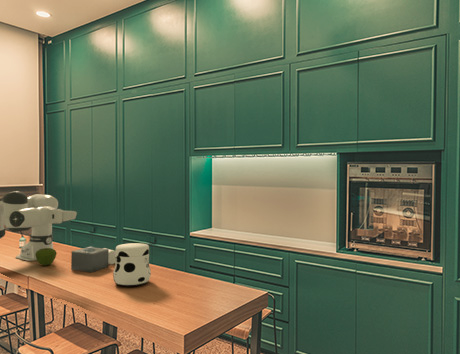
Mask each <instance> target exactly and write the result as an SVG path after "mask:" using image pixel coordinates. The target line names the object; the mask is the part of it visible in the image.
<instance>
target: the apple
mask: <svg viewBox="0 0 460 354" xmlns="http://www.w3.org/2000/svg"><path fill="white" fill-rule="evenodd" d="M57 254H58V253H57V250H55V249H54V248H53V249H52V248H44V249H40V250H38V251H37V252H36V254H35V256H36V259H37V260H36V262H38V264H40V265H41V266H50V265H51V264H53V263H54V261H55V259H56V257H57Z"/></svg>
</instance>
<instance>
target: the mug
mask: <svg viewBox="0 0 460 354" xmlns="http://www.w3.org/2000/svg"><path fill="white" fill-rule="evenodd" d="M103 249H107V248H106V247H103ZM108 249H109V248H108ZM115 256H116V250H113V249H109V254H108V265H115V263H116V259H115Z"/></svg>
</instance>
